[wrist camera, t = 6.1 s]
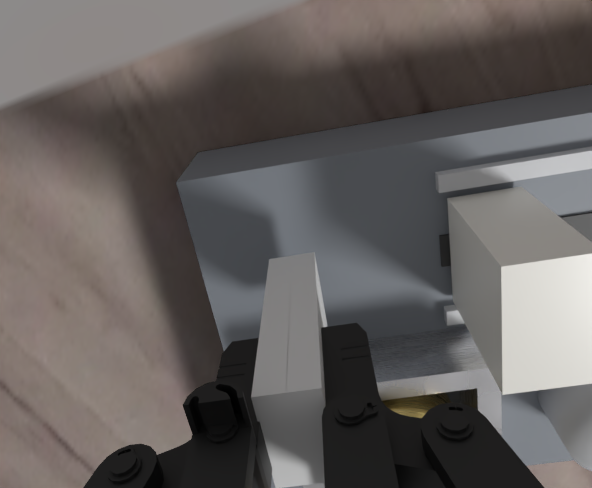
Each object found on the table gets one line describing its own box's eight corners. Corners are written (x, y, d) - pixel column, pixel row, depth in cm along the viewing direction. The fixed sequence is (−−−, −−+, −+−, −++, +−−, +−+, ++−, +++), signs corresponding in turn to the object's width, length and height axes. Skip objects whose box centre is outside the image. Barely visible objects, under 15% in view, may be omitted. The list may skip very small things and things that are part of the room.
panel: (269, 430, 27) (260, 549, 21) (198, 152, 21) (156, 208, 15) (753, 368, 25) (894, 480, 19) (831, 42, 19) (1077, 57, 13)
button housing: (314, 485, 23) (315, 538, 20) (283, 351, 20) (281, 394, 17) (481, 465, 22) (502, 517, 20) (477, 324, 19) (500, 366, 17)
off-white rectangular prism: (452, 300, 19) (502, 394, 14) (447, 198, 17) (500, 266, 12) (520, 291, 18) (592, 383, 14) (521, 186, 17) (603, 251, 12)
